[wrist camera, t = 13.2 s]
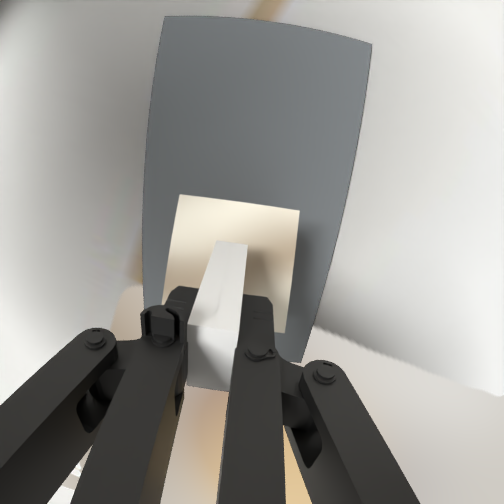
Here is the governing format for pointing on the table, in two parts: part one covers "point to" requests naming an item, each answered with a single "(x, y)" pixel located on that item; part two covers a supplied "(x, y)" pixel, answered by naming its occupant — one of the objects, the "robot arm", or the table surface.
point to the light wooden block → (236, 231)
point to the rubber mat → (254, 140)
